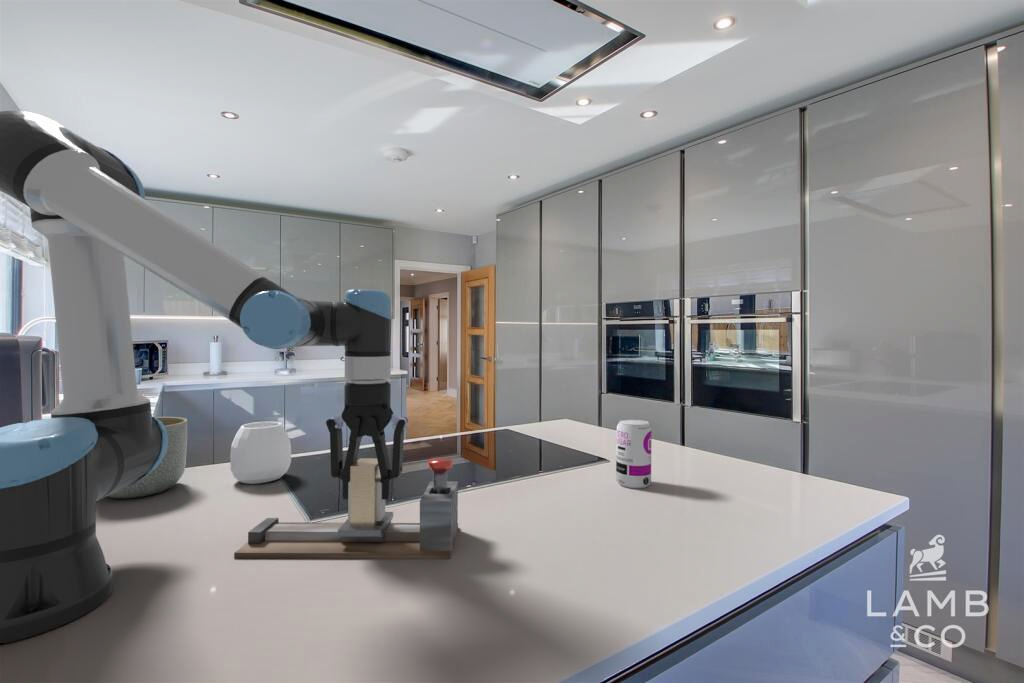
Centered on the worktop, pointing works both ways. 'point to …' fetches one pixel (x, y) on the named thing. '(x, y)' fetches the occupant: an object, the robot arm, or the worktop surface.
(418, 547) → the rail deck
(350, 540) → the carriage
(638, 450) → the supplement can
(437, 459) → the red mushroom button
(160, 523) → the worktop surface
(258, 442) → the white vase
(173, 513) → the worktop surface
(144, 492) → the planter
